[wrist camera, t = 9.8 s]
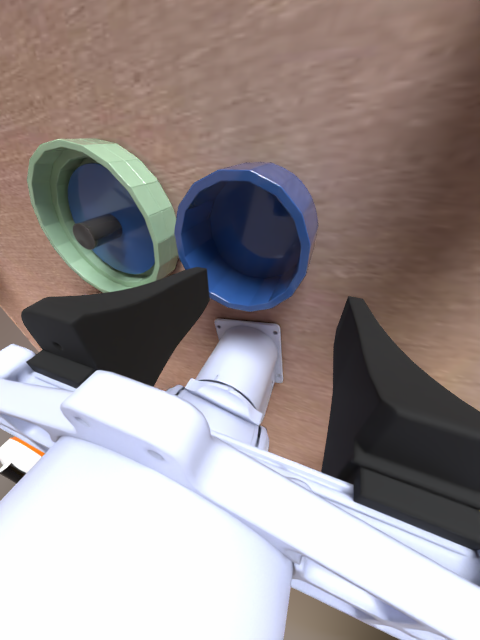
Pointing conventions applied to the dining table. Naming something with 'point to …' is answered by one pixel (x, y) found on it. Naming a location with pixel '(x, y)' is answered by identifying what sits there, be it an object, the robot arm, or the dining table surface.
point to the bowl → (57, 222)
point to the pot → (248, 234)
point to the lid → (109, 220)
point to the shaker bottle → (18, 458)
